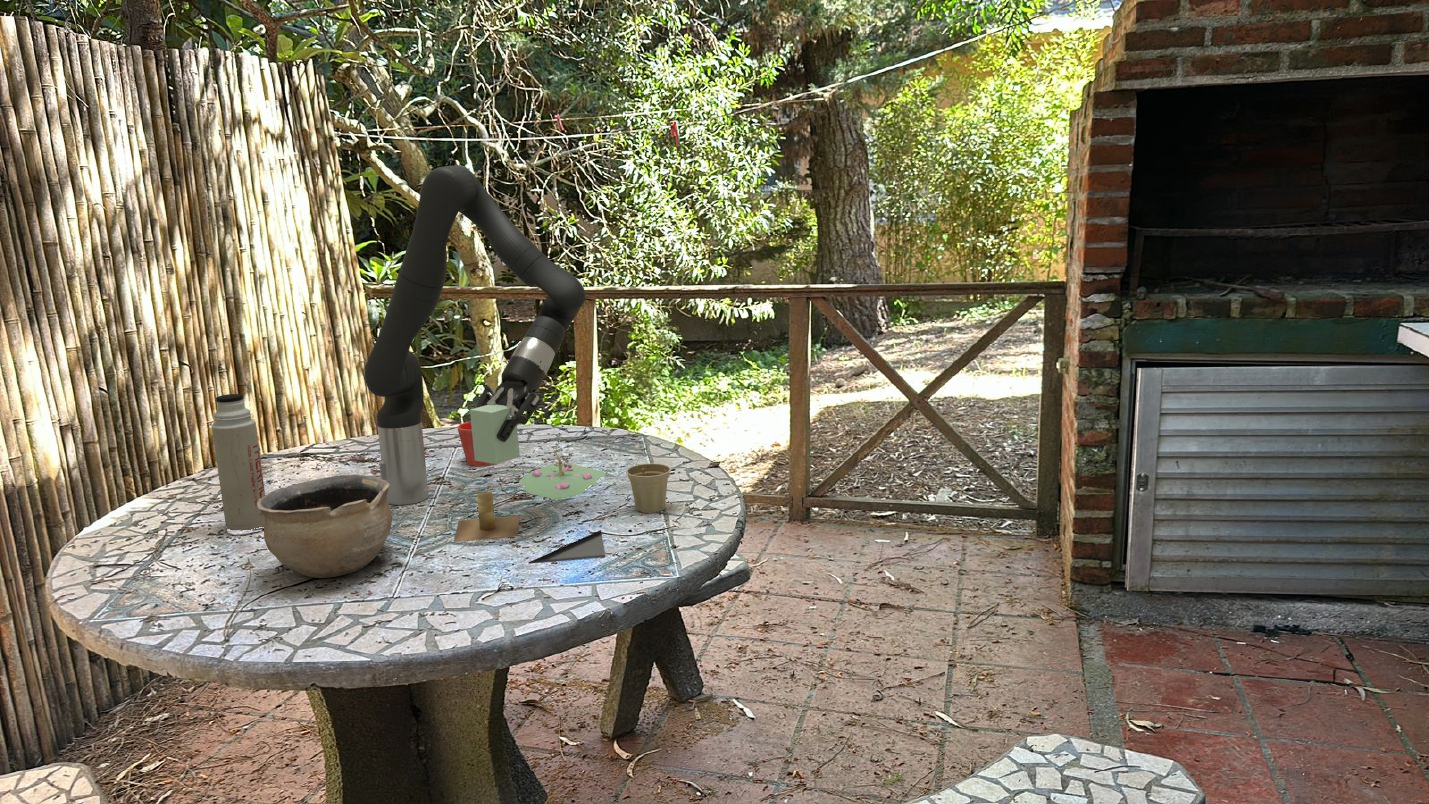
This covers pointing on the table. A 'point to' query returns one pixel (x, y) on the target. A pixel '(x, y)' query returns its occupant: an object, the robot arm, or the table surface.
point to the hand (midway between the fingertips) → (488, 437)
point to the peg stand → (486, 522)
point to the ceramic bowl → (327, 524)
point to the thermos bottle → (238, 463)
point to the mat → (577, 550)
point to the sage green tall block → (492, 435)
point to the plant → (560, 479)
